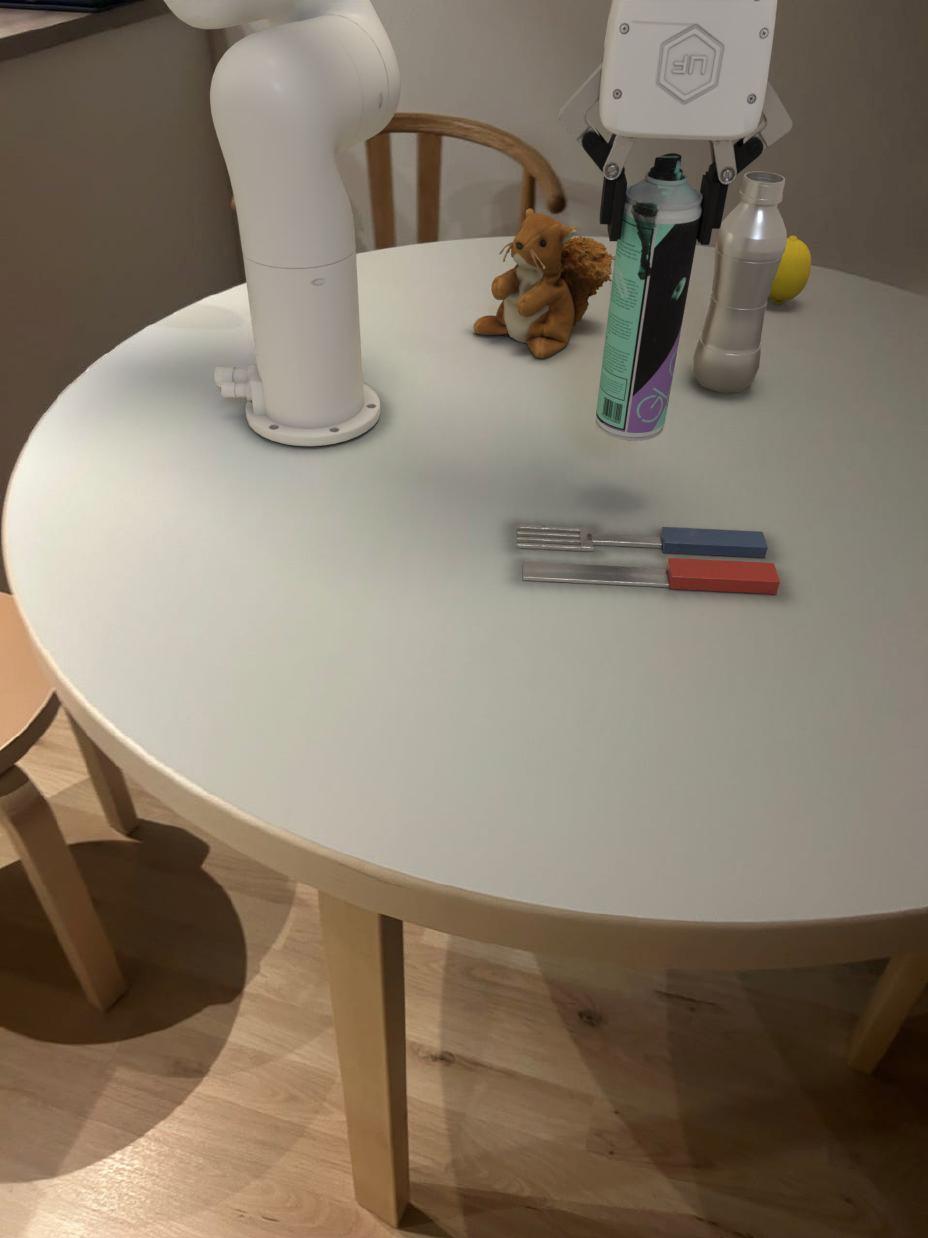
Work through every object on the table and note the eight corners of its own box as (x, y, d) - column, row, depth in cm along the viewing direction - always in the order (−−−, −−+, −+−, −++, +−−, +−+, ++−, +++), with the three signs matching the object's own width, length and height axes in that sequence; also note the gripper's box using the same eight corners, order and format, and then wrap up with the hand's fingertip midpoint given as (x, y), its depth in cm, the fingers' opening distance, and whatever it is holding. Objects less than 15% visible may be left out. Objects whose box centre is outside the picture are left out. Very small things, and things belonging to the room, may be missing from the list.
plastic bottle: (707, 403, 94) (750, 190, 82) (677, 373, 99) (714, 168, 86) (765, 396, 96) (817, 186, 83) (733, 367, 101) (778, 164, 88)
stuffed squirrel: (466, 334, 106) (469, 210, 97) (556, 303, 113) (566, 185, 104) (529, 365, 100) (538, 237, 92) (619, 331, 107) (635, 208, 99)
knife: (522, 581, 72) (523, 569, 71) (523, 562, 74) (523, 550, 73) (776, 594, 72) (780, 581, 71) (770, 575, 73) (774, 562, 73)
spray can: (662, 444, 74) (710, 169, 61) (591, 436, 75) (624, 162, 62) (665, 411, 78) (711, 147, 65) (598, 404, 79) (630, 141, 66)
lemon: (745, 297, 115) (759, 229, 110) (785, 293, 117) (801, 225, 112) (769, 315, 111) (785, 246, 106) (810, 310, 113) (828, 242, 108)
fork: (516, 548, 75) (517, 537, 75) (517, 527, 78) (517, 517, 77) (766, 560, 75) (768, 549, 74) (759, 539, 77) (762, 529, 76)
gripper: (557, -82, 53) (535, 250, 65) (871, -72, 52) (791, 260, 64) (554, -93, 59) (534, 214, 70) (838, -84, 58) (770, 223, 70)
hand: (657, 233), depth 67 cm, fingers closed on spray can, 5 cm apart
